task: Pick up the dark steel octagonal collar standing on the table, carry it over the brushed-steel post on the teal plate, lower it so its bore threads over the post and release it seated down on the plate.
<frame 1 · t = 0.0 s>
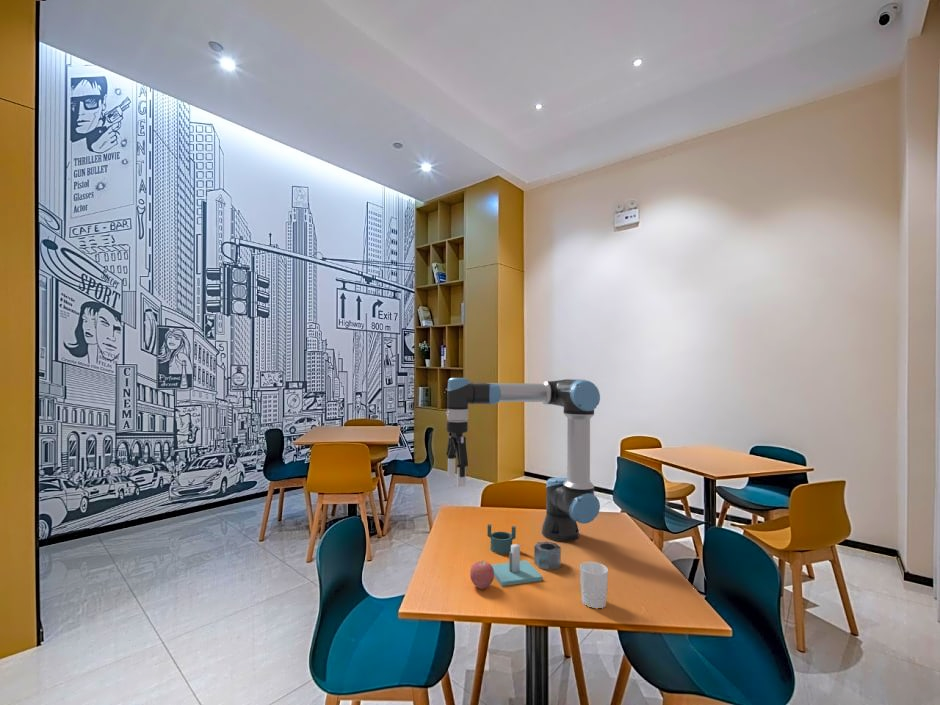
hand: (456, 481, 145), 28 cm above the table, fingers open, 13 cm apart
apple: (481, 587, 127), on the table
bracket: (501, 549, 156), on the table
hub: (547, 564, 144), on the table
stand: (515, 574, 136), on the table
white cup: (593, 603, 120), on the table
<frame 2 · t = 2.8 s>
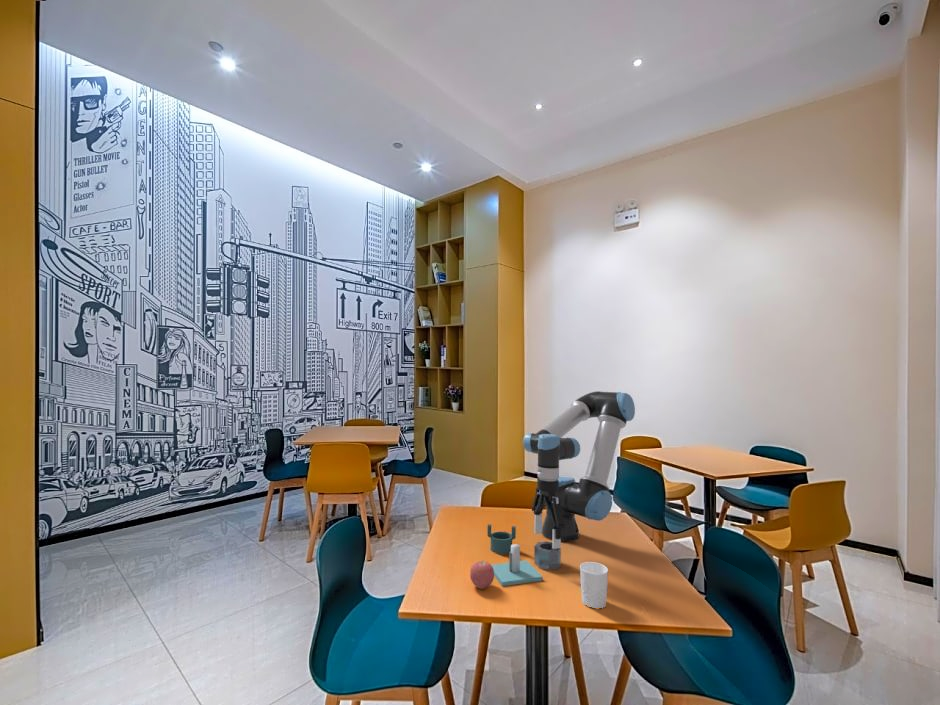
hand: (546, 540, 144), 8 cm above the table, fingers open, 13 cm apart
nothing on the table moved.
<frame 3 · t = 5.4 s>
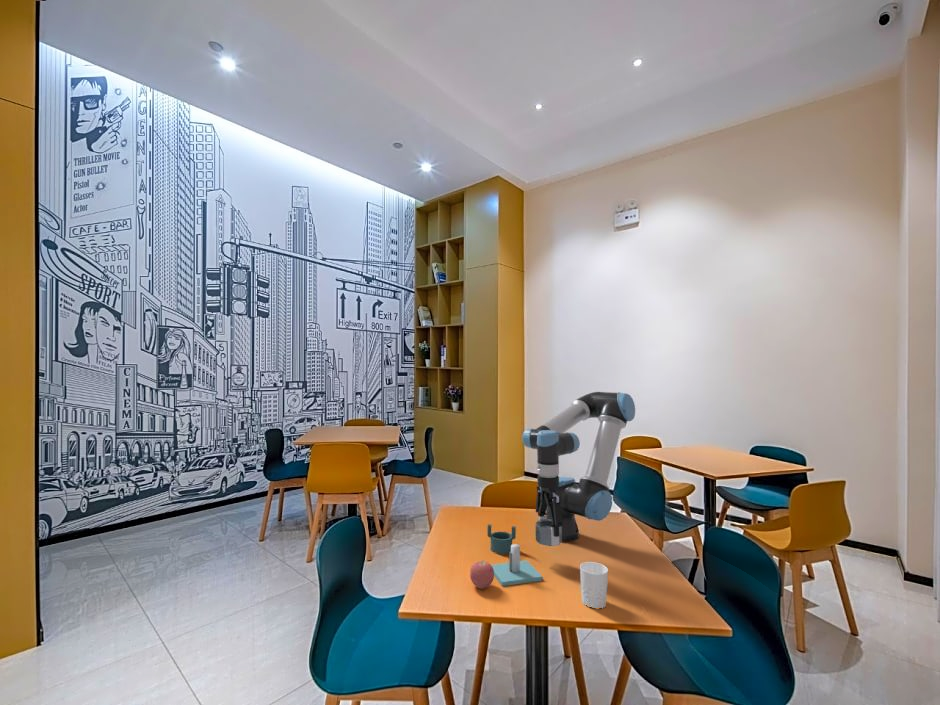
hand: (548, 539, 145), 8 cm above the table, fingers closed on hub, 8 cm apart
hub: (548, 540, 145), point 8 cm above the table, touching gripper
everything else where it was.
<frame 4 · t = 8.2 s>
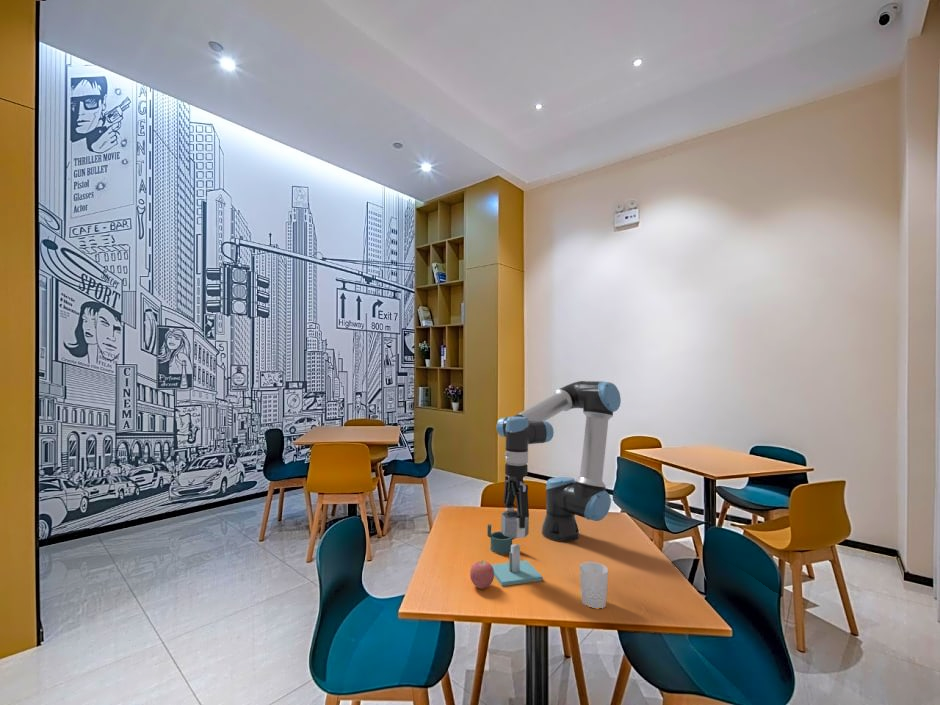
hand: (515, 532, 136), 14 cm above the table, fingers closed on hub, 8 cm apart
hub: (514, 533, 136), point 13 cm above the table, touching gripper
everything else where it was.
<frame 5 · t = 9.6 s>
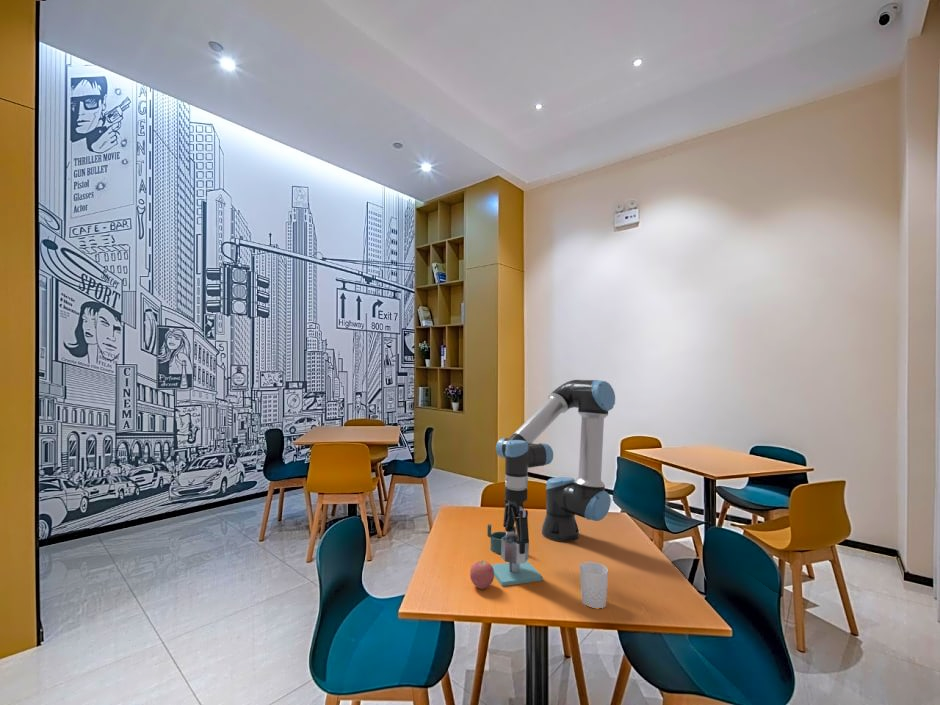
hand: (515, 556, 136), 6 cm above the table, fingers closed on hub, 8 cm apart
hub: (514, 557, 136), point 5 cm above the table, touching gripper
everything else where it was.
when the fingers open (3 cm above the table, at t = 11.0 s): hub drops 2 cm, resting on stand.
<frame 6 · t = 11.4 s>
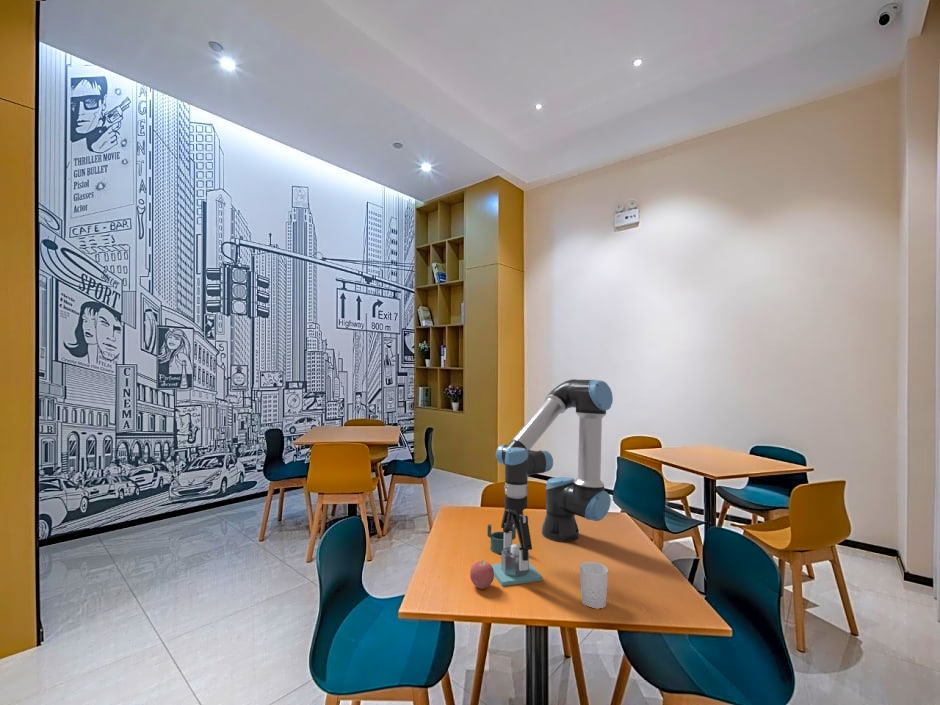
hand: (515, 560, 136), 4 cm above the table, fingers open, 13 cm apart
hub: (515, 570, 136), point 1 cm above the table, touching stand
everything else where it was.
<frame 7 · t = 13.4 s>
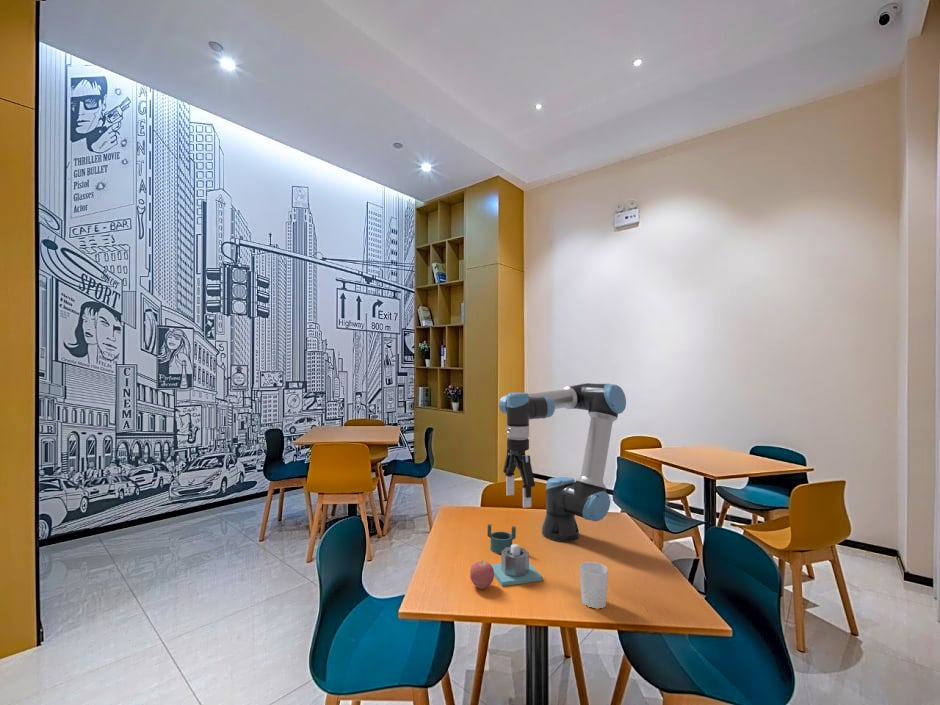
hand: (518, 500, 140), 23 cm above the table, fingers open, 13 cm apart
nothing on the table moved.
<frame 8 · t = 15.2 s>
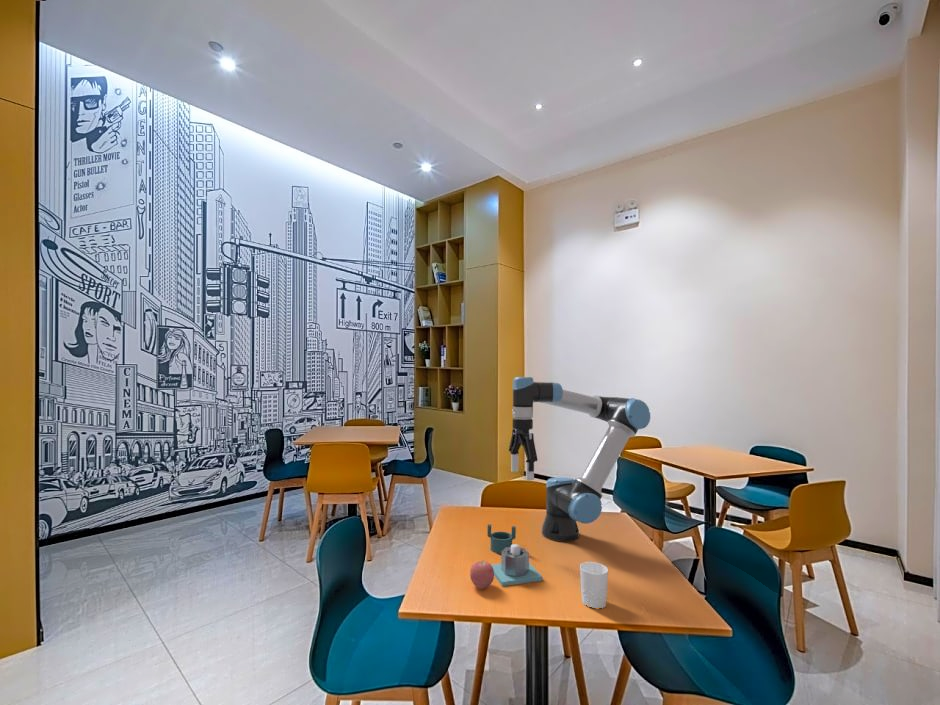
hand: (522, 475, 152), 29 cm above the table, fingers open, 13 cm apart
nothing on the table moved.
at the end: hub 0.1 cm off-centre on the stand, point 1.2 cm above the stand's base; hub tilted 0°; the gripper is holding nothing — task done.
